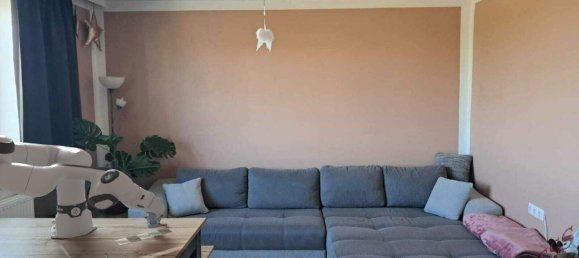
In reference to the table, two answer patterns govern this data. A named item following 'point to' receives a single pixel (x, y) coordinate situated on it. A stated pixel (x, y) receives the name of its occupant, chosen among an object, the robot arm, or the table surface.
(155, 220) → the pawn
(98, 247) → the table surface
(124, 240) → the track
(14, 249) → the table surface
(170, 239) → the table surface
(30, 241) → the table surface
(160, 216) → the game die
